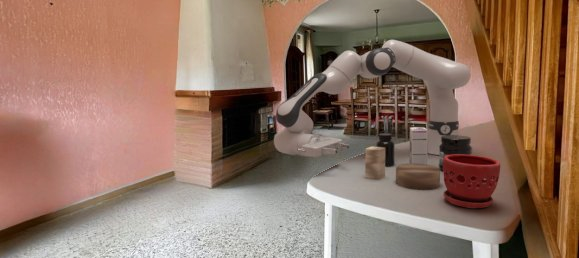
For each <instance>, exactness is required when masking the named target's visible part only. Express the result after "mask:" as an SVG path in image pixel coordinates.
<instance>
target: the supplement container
mask: <svg viewBox="0 0 579 258" xmlns="http://www.w3.org/2000/svg"><path fill="white" fill-rule="evenodd" d="M441 142H442V143H441V144H440V146H439V149H440V150H439V155H438V168H439V169H440V171H443V160H444V157H445V156H447V155H454V154H463V155H473V154H472V151H473V146H472V145H471V144H472V138H471V137H470V136H468V135H467V136H466V135H462V136H461V135H445V136H442V137H441ZM451 174H452V171H451Z"/></svg>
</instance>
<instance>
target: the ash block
mask: <svg viewBox="0 0 579 258" xmlns="http://www.w3.org/2000/svg"><path fill="white" fill-rule="evenodd" d="M364 151H365V152H364V153H365V162H364V163H365V165H364V168H365V169H364V170H365V171H364V174H365V177H366V179H370V178H371V179H372V180H377V179H378V181H379V180H381V178H382V179H383V178H385V177H386V166H385V148H383V147H376V146H369V147H367V148H365V150H364ZM384 176H385V177H384ZM365 177H364V178H365ZM371 179H370V180H371Z"/></svg>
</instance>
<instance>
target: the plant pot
mask: <svg viewBox="0 0 579 258" xmlns="http://www.w3.org/2000/svg"><path fill="white" fill-rule="evenodd" d="M451 171H452V173H451ZM442 172H443V182H444V185H445V188H446V190H444V191H443V194H442V195H443V197H444V199H445V200H446V201H448V202H449V203H450V204H452V205H456V206H457V207H463V208H469V209H481V208H486V207H487V208H488V207H489V206H491V205H492V204H493V202H494V199H493V196H492V195H493V193H494V192H495V190H496V189H497V185H498V182H499V178H500V173H501V162H500V161H498V160H496V159H494V158H491V157H487V156H481V155H474V154H472V155H463V154H454V155H447V156H445V157H444V160H443V170H442Z"/></svg>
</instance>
